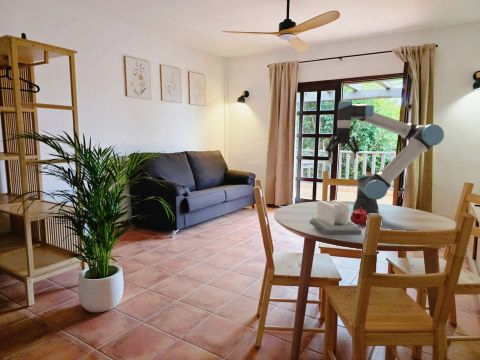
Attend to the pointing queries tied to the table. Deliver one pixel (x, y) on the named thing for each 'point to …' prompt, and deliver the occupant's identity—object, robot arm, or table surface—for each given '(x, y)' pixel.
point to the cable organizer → (333, 212)
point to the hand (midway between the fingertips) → (341, 163)
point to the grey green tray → (336, 227)
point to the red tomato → (359, 217)
